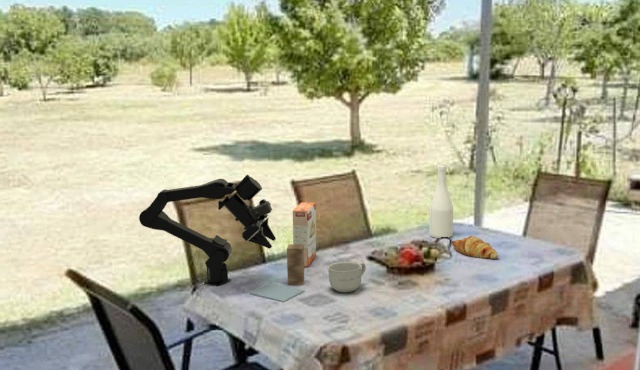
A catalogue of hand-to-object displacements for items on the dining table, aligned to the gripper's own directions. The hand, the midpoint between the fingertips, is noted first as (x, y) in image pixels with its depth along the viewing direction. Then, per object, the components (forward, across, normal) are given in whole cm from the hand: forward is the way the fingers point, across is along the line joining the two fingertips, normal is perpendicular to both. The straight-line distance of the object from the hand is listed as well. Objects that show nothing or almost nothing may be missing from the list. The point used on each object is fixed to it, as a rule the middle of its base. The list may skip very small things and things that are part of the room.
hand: (273, 243), depth 217 cm
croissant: (+58, +32, -43) cm, 79 cm away
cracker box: (+16, +23, +3) cm, 28 cm away
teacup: (+27, -6, -9) cm, 29 cm away
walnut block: (+15, 0, +4) cm, 15 cm away
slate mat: (+11, -10, +7) cm, 17 cm away
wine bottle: (+51, +58, -36) cm, 85 cm away
